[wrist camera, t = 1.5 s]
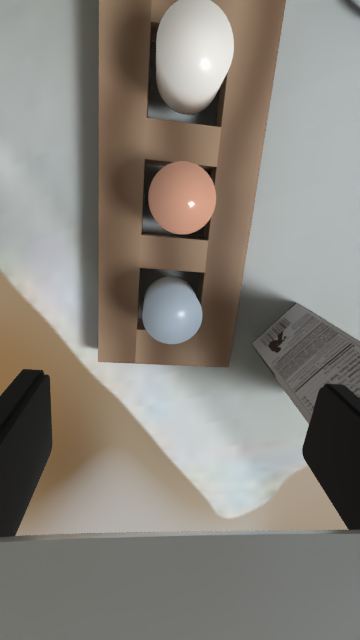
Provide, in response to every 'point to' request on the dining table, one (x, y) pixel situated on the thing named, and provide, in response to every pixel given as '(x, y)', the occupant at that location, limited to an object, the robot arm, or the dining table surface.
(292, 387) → the coffee box
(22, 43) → the dining table surface
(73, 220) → the dining table surface
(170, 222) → the salmon domed cylinder
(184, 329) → the blue egg
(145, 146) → the walnut board
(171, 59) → the white egg
